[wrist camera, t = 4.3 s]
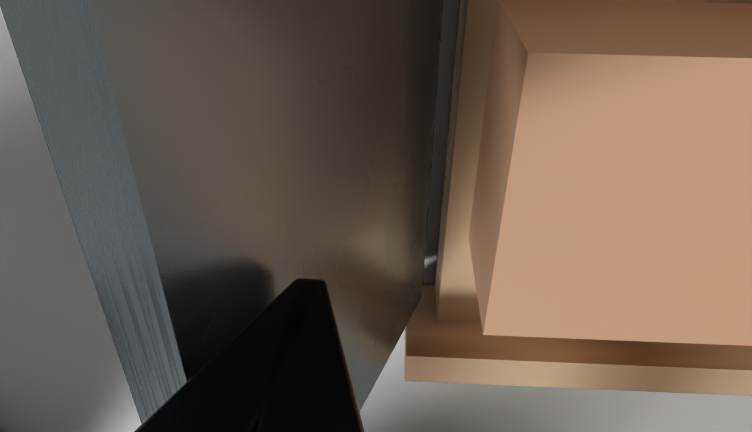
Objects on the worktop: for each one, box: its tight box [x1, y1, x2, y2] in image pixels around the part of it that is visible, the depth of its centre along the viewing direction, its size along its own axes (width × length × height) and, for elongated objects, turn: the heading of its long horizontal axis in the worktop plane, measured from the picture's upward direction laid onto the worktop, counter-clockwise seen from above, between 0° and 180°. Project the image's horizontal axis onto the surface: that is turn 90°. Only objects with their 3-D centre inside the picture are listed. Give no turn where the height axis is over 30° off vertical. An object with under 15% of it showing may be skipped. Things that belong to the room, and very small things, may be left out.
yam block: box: [468, 0, 752, 346], centre depth 12 cm, size 6×6×4 cm
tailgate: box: [0, 0, 444, 424], centre depth 11 cm, size 10×11×1 cm
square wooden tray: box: [405, 0, 752, 396], centre depth 13 cm, size 14×14×3 cm
